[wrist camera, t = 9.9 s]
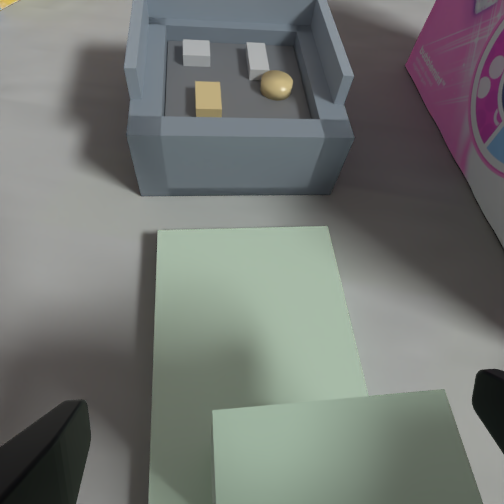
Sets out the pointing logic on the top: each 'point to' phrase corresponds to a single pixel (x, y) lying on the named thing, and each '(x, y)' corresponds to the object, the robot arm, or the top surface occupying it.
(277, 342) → the pale green l-shaped piece
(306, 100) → the tub
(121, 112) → the top surface
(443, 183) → the top surface
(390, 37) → the top surface
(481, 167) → the gum box
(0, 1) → the beverage box
